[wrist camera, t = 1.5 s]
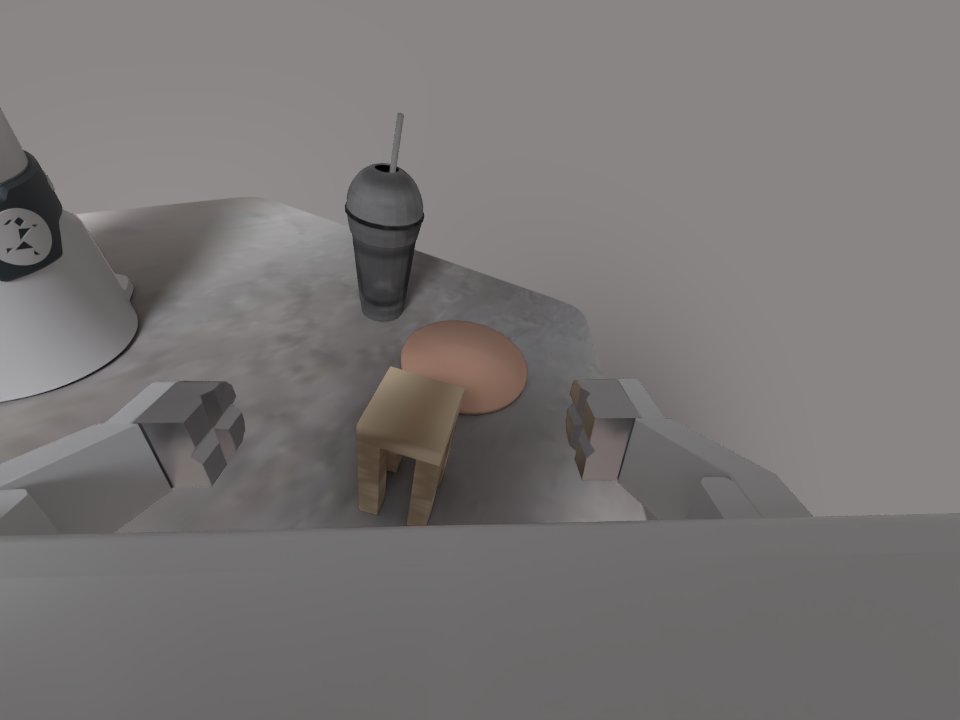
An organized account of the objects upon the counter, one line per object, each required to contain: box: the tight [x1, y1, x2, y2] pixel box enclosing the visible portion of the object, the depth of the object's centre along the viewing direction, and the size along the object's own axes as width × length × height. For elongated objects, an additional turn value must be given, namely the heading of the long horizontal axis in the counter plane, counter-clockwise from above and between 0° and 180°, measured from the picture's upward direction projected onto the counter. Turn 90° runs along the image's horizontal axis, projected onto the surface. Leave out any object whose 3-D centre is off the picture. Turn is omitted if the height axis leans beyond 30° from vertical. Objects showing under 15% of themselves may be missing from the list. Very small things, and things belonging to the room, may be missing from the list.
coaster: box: [401, 321, 527, 415], centre depth 42 cm, size 13×13×1 cm
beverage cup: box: [345, 113, 424, 321], centre depth 39 cm, size 7×7×20 cm
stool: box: [356, 366, 465, 526], centre depth 28 cm, size 5×5×10 cm
